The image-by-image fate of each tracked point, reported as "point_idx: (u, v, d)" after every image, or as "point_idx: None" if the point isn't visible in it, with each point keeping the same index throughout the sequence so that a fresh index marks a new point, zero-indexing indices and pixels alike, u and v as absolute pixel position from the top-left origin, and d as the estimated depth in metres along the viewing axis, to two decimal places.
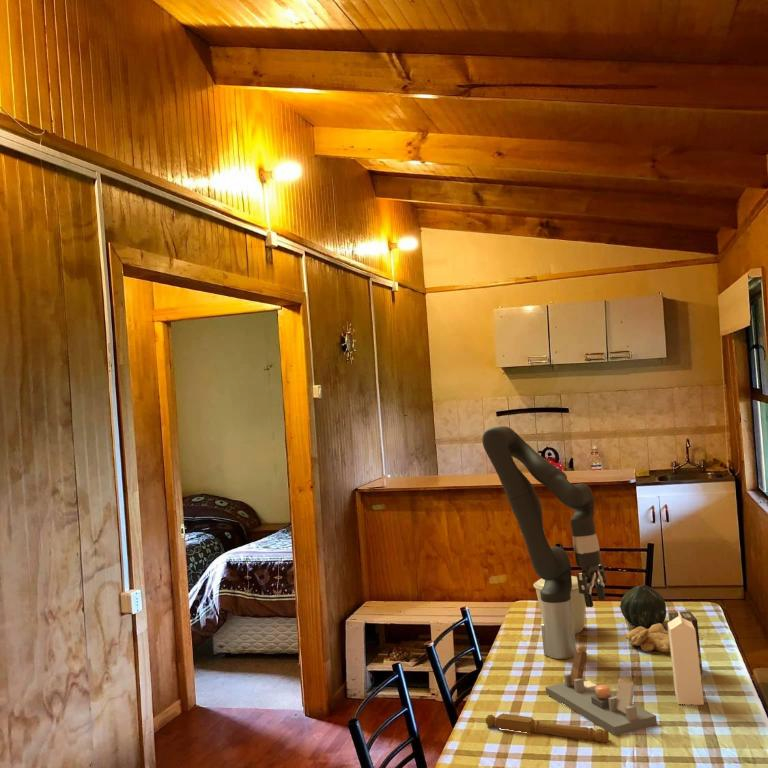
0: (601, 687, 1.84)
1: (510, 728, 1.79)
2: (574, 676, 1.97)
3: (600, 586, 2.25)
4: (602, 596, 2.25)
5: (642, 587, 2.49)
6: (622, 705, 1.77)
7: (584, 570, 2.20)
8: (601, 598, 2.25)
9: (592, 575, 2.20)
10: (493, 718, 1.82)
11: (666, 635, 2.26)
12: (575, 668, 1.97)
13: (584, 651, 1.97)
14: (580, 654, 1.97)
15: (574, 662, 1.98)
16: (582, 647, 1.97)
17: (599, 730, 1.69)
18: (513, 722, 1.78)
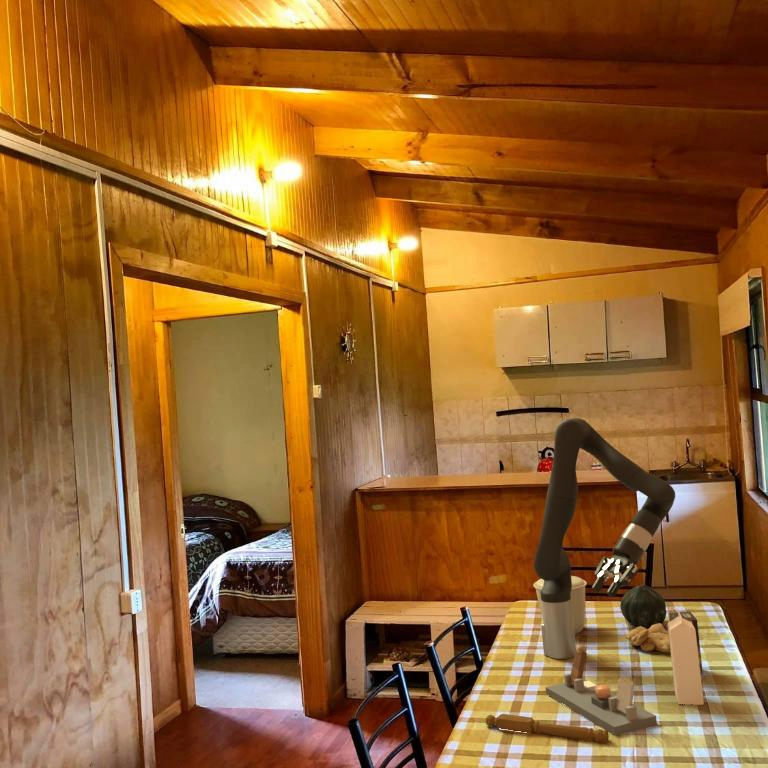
0: (601, 687, 1.84)
1: (510, 728, 1.79)
2: (574, 676, 1.97)
3: (603, 579, 2.06)
4: (598, 589, 2.05)
5: (642, 587, 2.49)
6: (622, 705, 1.77)
7: (631, 561, 2.01)
8: (596, 590, 2.05)
9: None
10: (493, 718, 1.82)
11: (666, 635, 2.26)
12: (575, 668, 1.97)
13: (584, 651, 1.97)
14: (580, 654, 1.97)
15: (574, 662, 1.98)
16: (582, 647, 1.97)
17: (599, 730, 1.69)
18: (513, 722, 1.78)
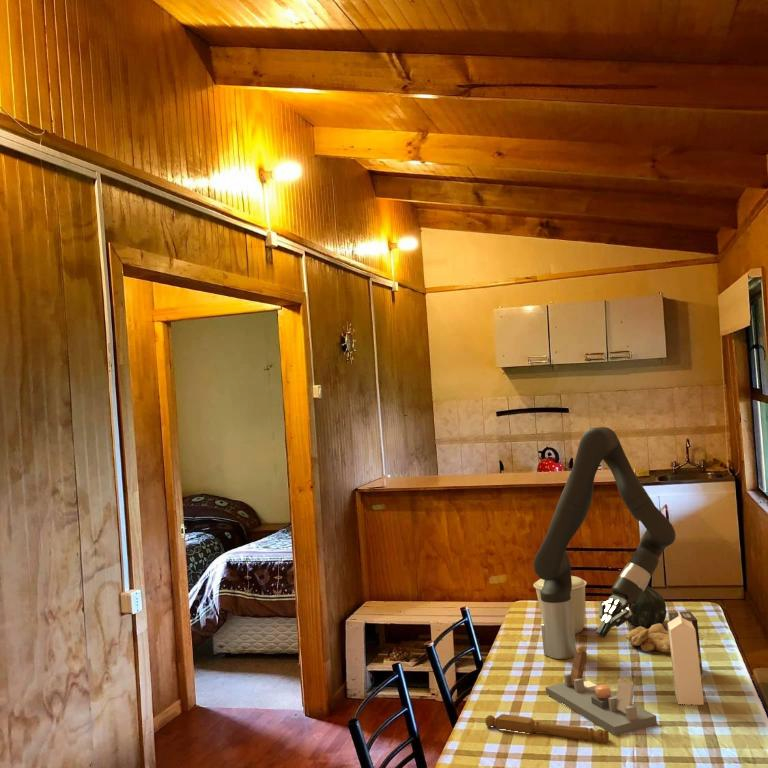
0: (601, 687, 1.84)
1: (510, 729, 1.78)
2: (574, 676, 1.97)
3: None
4: None
5: None
6: (622, 705, 1.77)
7: (629, 602, 2.00)
8: None
9: None
10: (493, 719, 1.82)
11: (666, 635, 2.26)
12: (575, 668, 1.97)
13: (584, 651, 1.97)
14: (580, 654, 1.97)
15: (574, 662, 1.98)
16: (582, 647, 1.97)
17: (599, 730, 1.69)
18: (513, 722, 1.78)
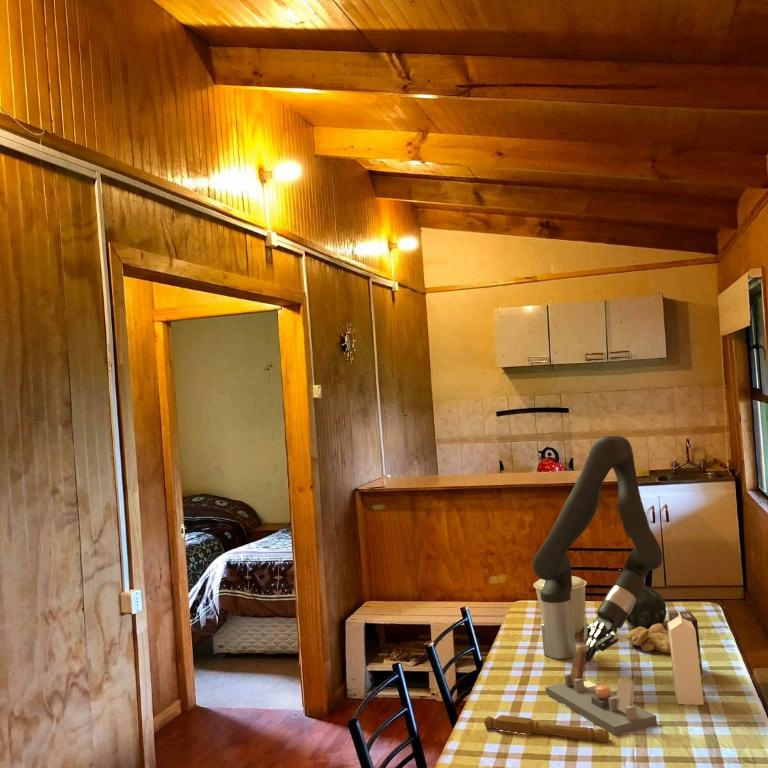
0: (601, 687, 1.84)
1: (509, 730, 1.78)
2: (574, 676, 1.97)
3: None
4: None
5: None
6: (622, 705, 1.77)
7: (615, 626, 1.98)
8: None
9: None
10: (492, 720, 1.81)
11: (666, 635, 2.26)
12: (575, 668, 1.97)
13: (584, 651, 1.97)
14: (580, 654, 1.97)
15: (574, 662, 1.98)
16: (582, 647, 1.97)
17: (600, 729, 1.69)
18: (512, 723, 1.77)
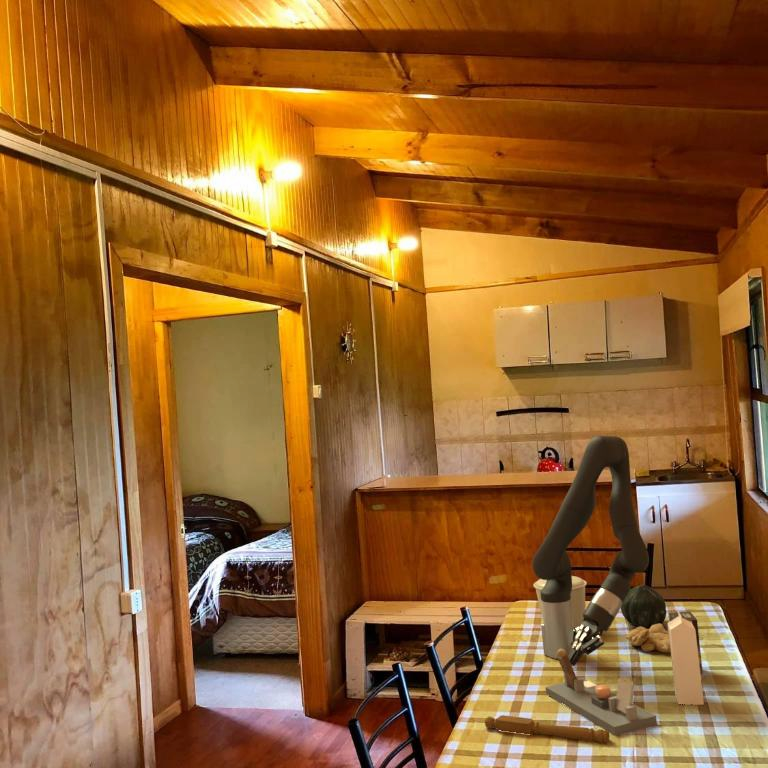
0: (601, 687, 1.84)
1: (510, 730, 1.78)
2: (569, 679, 1.96)
3: None
4: None
5: (642, 587, 2.49)
6: (622, 705, 1.77)
7: (600, 629, 1.96)
8: (571, 662, 1.97)
9: None
10: (492, 720, 1.81)
11: (666, 635, 2.26)
12: (566, 672, 1.96)
13: (564, 655, 1.95)
14: (563, 660, 1.95)
15: (562, 667, 1.97)
16: (561, 652, 1.95)
17: (600, 730, 1.69)
18: (513, 723, 1.77)
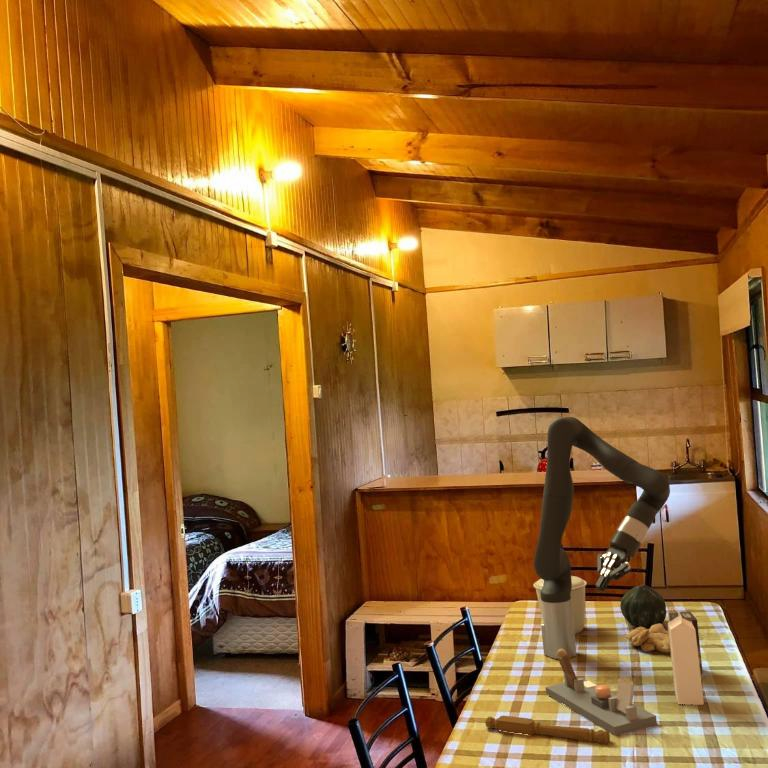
0: (601, 687, 1.84)
1: (510, 730, 1.77)
2: (569, 679, 1.96)
3: None
4: None
5: (642, 587, 2.49)
6: (622, 705, 1.77)
7: (628, 556, 2.02)
8: None
9: None
10: (493, 720, 1.81)
11: (666, 635, 2.25)
12: (566, 672, 1.96)
13: (564, 655, 1.95)
14: (563, 660, 1.95)
15: (562, 667, 1.97)
16: (561, 652, 1.95)
17: (601, 731, 1.68)
18: (513, 724, 1.77)
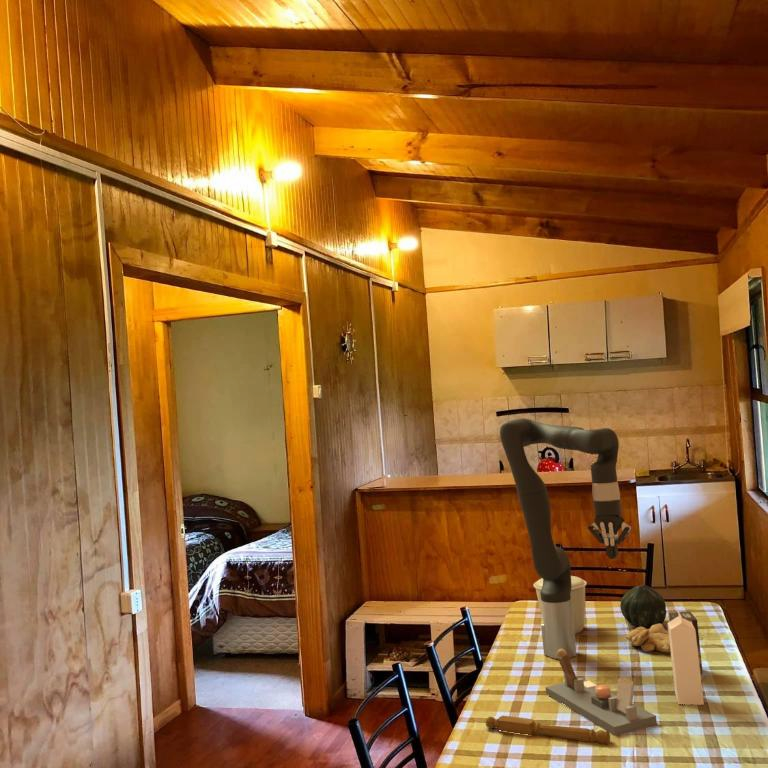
0: (601, 687, 1.84)
1: (510, 730, 1.77)
2: (569, 679, 1.96)
3: None
4: None
5: (642, 587, 2.49)
6: (622, 705, 1.77)
7: (620, 517, 2.08)
8: None
9: None
10: (493, 720, 1.81)
11: (666, 635, 2.25)
12: (566, 672, 1.96)
13: (564, 655, 1.95)
14: (563, 660, 1.95)
15: (562, 667, 1.97)
16: (561, 652, 1.95)
17: (601, 731, 1.68)
18: (513, 724, 1.77)
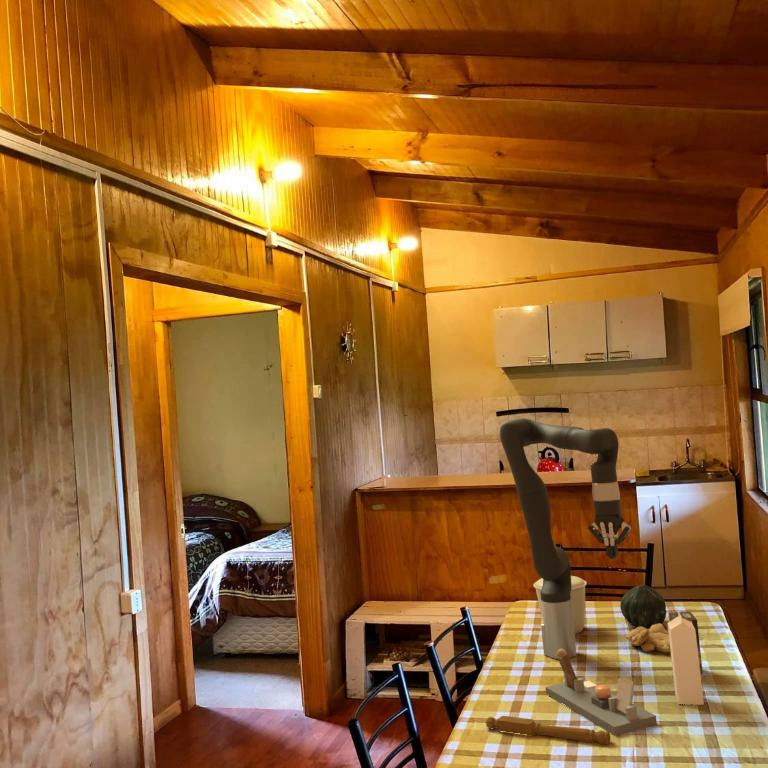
0: (601, 687, 1.84)
1: (511, 730, 1.77)
2: (569, 679, 1.96)
3: None
4: None
5: (642, 587, 2.49)
6: (622, 705, 1.77)
7: (620, 517, 2.08)
8: None
9: None
10: (493, 720, 1.81)
11: (667, 635, 2.25)
12: (566, 672, 1.96)
13: (564, 655, 1.95)
14: (563, 660, 1.95)
15: (562, 667, 1.97)
16: (561, 652, 1.95)
17: (601, 731, 1.68)
18: (514, 724, 1.77)
